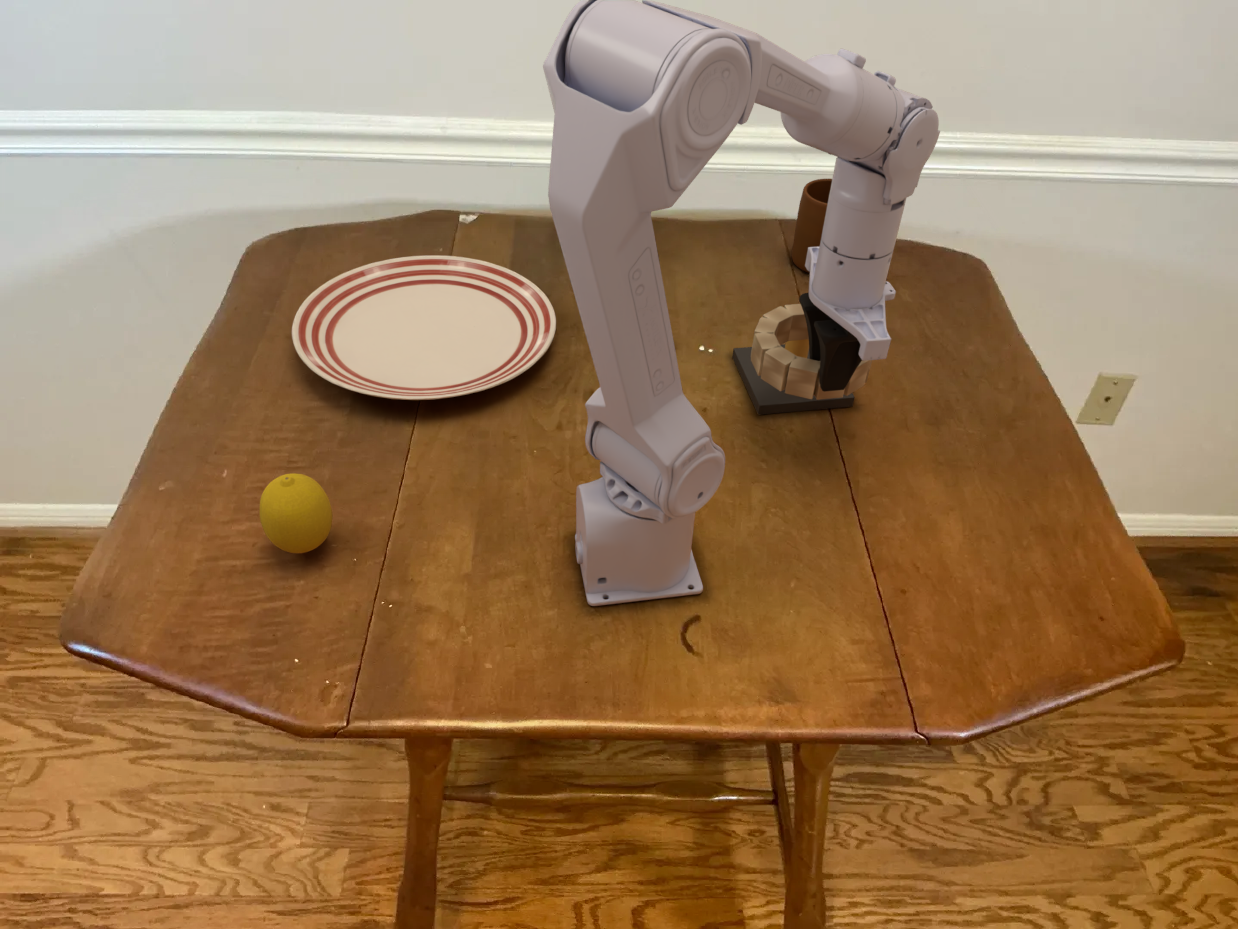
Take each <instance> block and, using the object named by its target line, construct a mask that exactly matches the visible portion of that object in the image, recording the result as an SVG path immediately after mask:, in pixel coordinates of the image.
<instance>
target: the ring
mask: <svg viewBox="0 0 1238 929" xmlns="http://www.w3.org/2000/svg"><path fill="white" fill-rule="evenodd" d="M752 338H753V339H752V345H751V347H752V351H751V361H752V364H753V366H754V368H755V370H756V372H757V374H758V376H761V379H762V380H764V381H765V382H767V383H769V384H770V385H772V386H773V387H775V388H776V389H778V390H779V391H782V390H784V389H785V393H786V394H790V395H795V396H799V397H803V398H808V399H812V398H813V395H814V396H815V398H816V399H817V400H820V399H830V398H840V397H843V394H844V395H846V396H848V395H849V394H851V393H853V394H854V392H856V391H858V390H859V389H861V388H863V387H864V386H865V384H866V383H867V382H868V379H869V375H870V371H871V368H872V363H873V360H865V361H863V360H862V361H861V362H860V364H859V365H858V367H857V369H856V370H855V372H854V374H853V375H852V377H851V379H850V380H849V382H848V384H847V385H846V387H845V389H844V390H836V391H825V392H824V391H822V389H821V387H820V382H819V372H820V361H816V360H812V359H807V358H803V357H798V356H796V355H794V354H793V353H791V352H789V351H788V350H786V349H785V348H783V347H781V346H780V345H782V344H786V342H787V341H794V340H805V339H808V340H809V338H808V329H807V323H806V319H805V315H804V312H803V309H802V306H801V304H800V303H792V304H785V305H784V307H783V305H780V306H777V307H775V308H774V309H772V310H770V311H768V312H766V313H764V314H762V316H761V317H760V318H759V320H758V321H757V324H756V327H755V329H754V331H753V337H752Z"/></svg>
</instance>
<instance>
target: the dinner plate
mask: <svg viewBox="0 0 1238 929" xmlns="http://www.w3.org/2000/svg"><path fill="white" fill-rule="evenodd" d="M556 329H557V317H556V312H555V309H554V307H553V305H552V302H551V300H550V299H549V298H548V296H547V295H546V294H545V293H544V291H542V290H541V288H540V287H538V286H537V285H536V284H535V283H533V281H531V280H530V279H528V278H526V277H525V276H523V275H522V274H519V273H518V272H515V271H514V270H511V269H509V268H506V267H505V266H501V265H498V264H496V263H494V262H493V263H492V262H489V261H485V260H481V259H477V258H472V257H471V258H470V257H463V256H454V255H428V254H427V255H412V256H402V257H401V256H400V257H396V258H395V257H394V258H389V259H384V260H380V261H375V262H372V263H371V262H370V263H367V264H364V265H361V266H359V267H356V268H353V269H351V270H349V271H345V272H343V273H341V274H339V275H337V276H335V277H333V278H331V279H329V280H328V281H326V282H325V283H323V284H321V285H320V286H319V287H318V288H316V289H315V290H313V291H312V292H311V293H310V294H309V295H308V296H307V297H306V298H305V300H304V301H303V302H302V303H301V304H300V306H299V308H298V309H297V311H296V314H295V315H294V318H293V321H292V326H291V339H292V343H293V347H294V349H295V352H296V353H297V355H298V357H299V358H300V360H301V361H302V362H303V364H305V366H306V367H308V369H310V370H311V371H312V372H313V373H315V374H316V375H317V376H319V377H320V378H322V379H324V380H326V381H327V382H330V383H331V384H333V385H335V386H338V387H340V388H342V389H345V390H348V391H351V392H355V393H359V394H362V395H365V396H366V395H367V396H371V397H376V398H381V399H382V398H383V399H389V400H390V399H391V400H402V401H427V400H441V399H448V398H454V397H460V396H465V395H470V394H473V393H479V392H482V391H485V390H488V389H492V388H495V387H497V386H500V385H503V384H505V383H507V382H509V381H511V380H513V379H515V378H517V377H518V376H520V375H521V374H523V373H524V372H526V371H528V370H529V369H530V368H532V367H533V366H534V365H535V364H536V363H537V362H539V360H540V359H541V358H542V357H543V356H544V355H545V354H546V352H547V351H548V349H549V348H550V346H551V345H552V342H553V341H554V337H555V334H556Z"/></svg>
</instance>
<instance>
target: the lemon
mask: <svg viewBox="0 0 1238 929" xmlns="http://www.w3.org/2000/svg"><path fill="white" fill-rule="evenodd" d="M262 491H263V492H262V494H261V496H260V499H259V521H260V525H261V527H262V530H263V532H264V534H265V536H266V538H268V541H270V542H271V543H272V545H274V546H275V547H276V548H278V549H280V550H281V551H284V552H287V553H291V554H304V553H308V552H311V551H314V550H315V549H317V548H318V547H319V546H321V545H322V544H323V543H324V542H325V541H326V539H327V538H328V537H329V534H330V532H331V529H332V525H333V509H332V506H331V501H330V499H329V496H328V495H327V493H326V492H325V490H324V488H323V487H322V486H321V484H320V483H319V482H318V481H316V480H315V479H314V478H313V477H310V476H308V475H306V474H302V473H295V472H293V473H292V472H291V473H285V474H281V475H279V476H278V477H276V478H274V479H272V480H271V481H270V482H269V483H268V484H267V486H266V487H265V488H264V489H263V490H262Z"/></svg>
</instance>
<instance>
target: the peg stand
mask: <svg viewBox="0 0 1238 929" xmlns="http://www.w3.org/2000/svg"><path fill="white" fill-rule="evenodd" d="M780 346H781V347H783V348H785V349H786V350H788V351H789V352H791V353H793V354H794V355H796V356H798V357H803V358H807V359H810V355H809V340H808V339H805V340H794V341H787V342H786V343H784V344H782V345H780ZM751 351H752V346H745V347H744V346H743V347H733V349H732V355H731V356H732V360H733V362H734V364H735V367H736V369H737V371H738V373H739V375H740V378H741V380H742V382H743V385H744V386H745V389H746V391H747V393H748V396H749V398H750V401H751V403H752V405H753V406H754V409H755V411H756V412H757V415H759V416H760V415H771V414H784V413H793V412H804V411H815V410H817V411H818V410H826V409H827V410H828V409H838V408H839V409H840V408H851V407H853V406H854V402H855V399H856V397H855V395H854V392H853V393H851V394H849V395H848V396H846V395H844V394H843V397H840V398H830V399H820V400H817V399H816V398H815V396H814V395H813V398H812V399H808V398H803V397H799V396H795V395H790V394H786V393H785V389H784V390H782V391H779V390H778V389H776V388H775V387H773V386H772V385H770V384H769V383H767V382H765V381H764V380H762V379H761V376H758V374H757V372H756V370H755V368H754V366H753V364H752V361H751Z"/></svg>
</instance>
